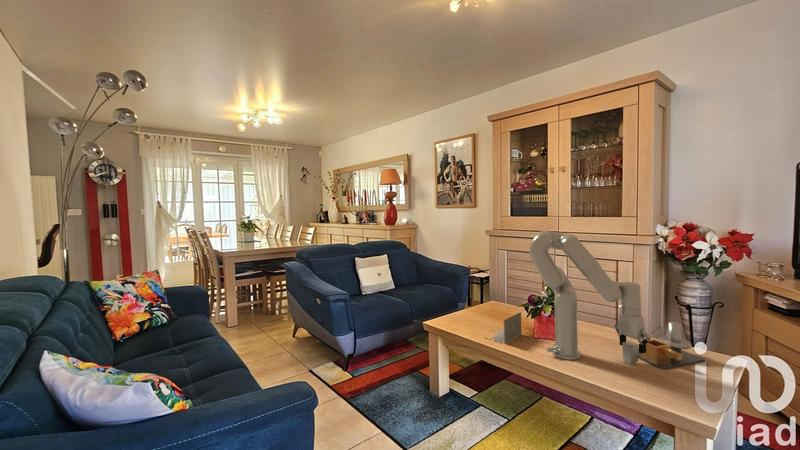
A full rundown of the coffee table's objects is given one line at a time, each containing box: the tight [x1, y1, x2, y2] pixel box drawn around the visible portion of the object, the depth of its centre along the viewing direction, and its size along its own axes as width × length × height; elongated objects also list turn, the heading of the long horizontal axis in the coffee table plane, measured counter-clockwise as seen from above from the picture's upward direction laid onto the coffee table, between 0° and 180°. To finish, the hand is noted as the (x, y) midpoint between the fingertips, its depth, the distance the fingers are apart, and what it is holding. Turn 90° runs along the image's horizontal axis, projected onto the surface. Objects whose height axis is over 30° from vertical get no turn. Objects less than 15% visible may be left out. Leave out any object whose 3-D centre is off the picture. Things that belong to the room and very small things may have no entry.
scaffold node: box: [638, 320, 706, 370], centre depth 158 cm, size 24×20×15 cm
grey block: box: [622, 340, 639, 366], centre depth 154 cm, size 4×4×9 cm
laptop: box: [490, 312, 523, 345], centre depth 191 cm, size 18×12×13 cm
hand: (632, 348), depth 154 cm, fingers open, 9 cm apart
